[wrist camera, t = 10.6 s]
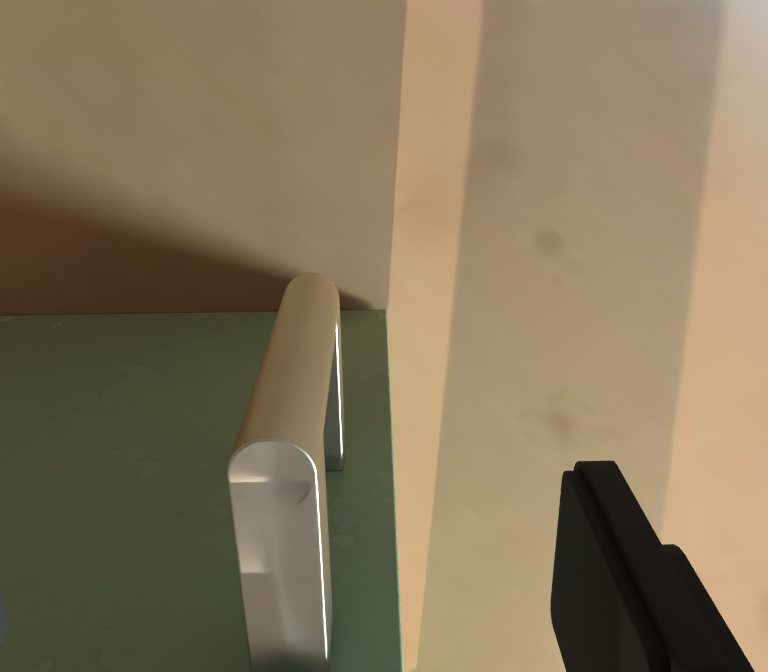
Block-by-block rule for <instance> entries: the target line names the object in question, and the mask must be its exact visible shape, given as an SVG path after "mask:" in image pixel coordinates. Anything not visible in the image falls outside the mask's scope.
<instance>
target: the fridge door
mask: <svg viewBox="0 0 768 672" xmlns="http://www.w3.org/2000/svg"><path fill="white" fill-rule="evenodd" d="M339 300H340V299H339V293H338V290H337V288H336V286H335V285H334V284H333V283H332V282H331V281H330V280H329V279H328V278H326V277H325V276H322V275H320V274H315V273H306V274H302V275H299V276H297V277H296V278H294V279H293V280H292V281H291V282H290V283H289V284H288V286H287V288H286V290H285V293H284V296H283V299H282V302H281V305H280V308H279V311H276V312H212V313H148V314H85V315H21V316H0V591H1V595H2V598H3V601H4V605H5V608H6V612H7V616H8V626H7V631H6V635H5V637H4V639H3V641H2V643H1V645H0V672H403V655H402V633H401V611H400V589H399V567H398V545H397V524H396V502H395V480H394V458H393V436H392V414H391V392H390V370H389V349H388V327H387V311H386V310H340V301H339Z"/></svg>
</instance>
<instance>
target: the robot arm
mask: <svg viewBox="0 0 768 672" xmlns="http://www.w3.org/2000/svg"><path fill="white" fill-rule="evenodd" d="M551 619H552V624H553V628H554V632H555V635H556V638H557V642H558V645H559V648H560V652H561V655H562V658H563V662H564V665H565V668H566V672H755V671H754V670H753V668H752V666H751V665H750V663H749V661H748V660H747V658H746V656H745V655H744V653H743V651H742V650H741V648H740V646H739V645H738V643H737V641H736V640H735V638H734V636H733V634H732V633H731V631H730V629H729V628H728V626H727V624H726V623H725V621H724V619H723V618H722V616H721V614H720V613H719V611H718V609H717V608H716V606H715V604H714V603H713V601H712V599H711V598H710V596H709V594H708V593H707V591H706V589H705V587H704V586H703V584H702V582H701V581H700V579H699V577H698V576H697V574H696V572H695V571H694V569H693V567H692V566H691V564H690V562H689V561H688V559H687V557H686V556H685V554H684V553H683V551H682V550H681V549H680V548H679V547H678V546H676V545H674V544H668V545H662V544H661V542H660V541H659V539H658V537H657V535H656V534H655V532H654V530H653V528H652V526H651V525H650V523H649V521H648V519H647V518H646V516H645V514H644V512H643V510H642V509H641V507H640V505H639V503H638V501H637V500H636V498H635V496H634V494H633V493H632V491H631V489H630V487H629V485H628V484H627V482H626V480H625V478H624V477H623V475H622V473H621V471H620V469H619V468H618V466H617V464H616V463H615V462H614V461H578V462H577V463H576V464H575V467H574V471H565V472H564V473H563V476H562V485H561V495H560V506H559V517H558V528H557V539H556V549H555V560H554V571H553V582H552V592H551ZM7 626H8V616H7V612H6V608H5V605H4V601H3V598H2V595H1V591H0V645H1V643H2V641H3V639H4V637H5V635H6V631H7Z"/></svg>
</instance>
